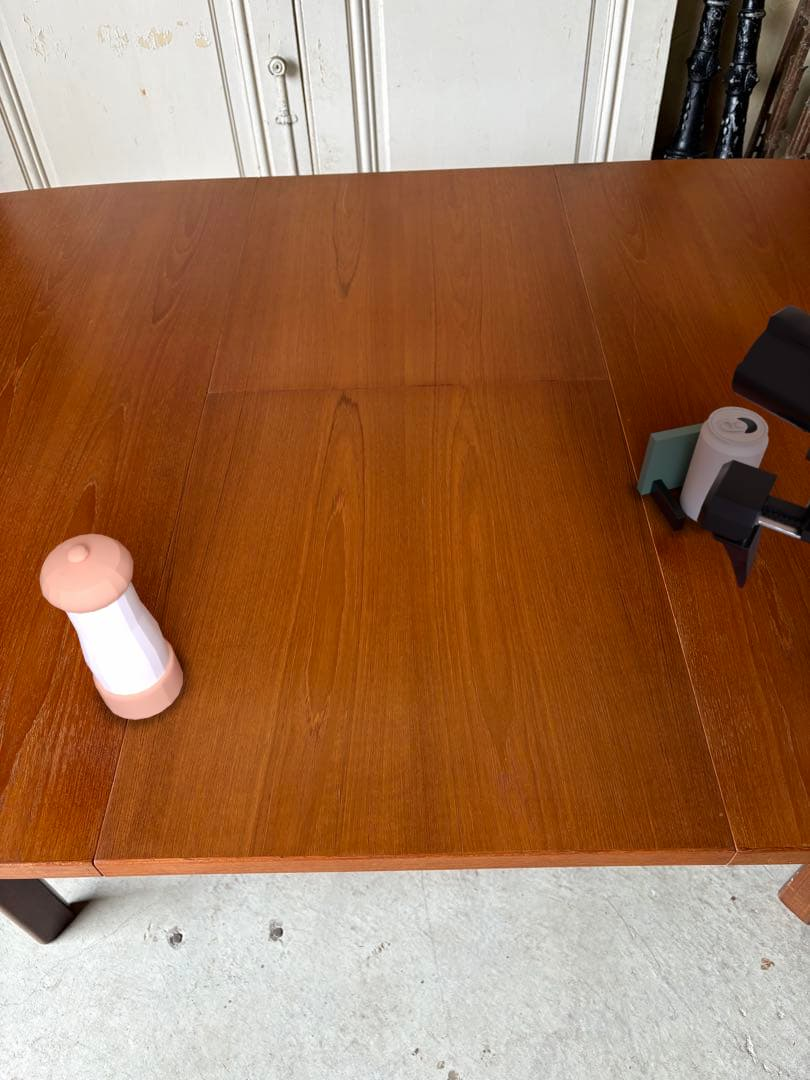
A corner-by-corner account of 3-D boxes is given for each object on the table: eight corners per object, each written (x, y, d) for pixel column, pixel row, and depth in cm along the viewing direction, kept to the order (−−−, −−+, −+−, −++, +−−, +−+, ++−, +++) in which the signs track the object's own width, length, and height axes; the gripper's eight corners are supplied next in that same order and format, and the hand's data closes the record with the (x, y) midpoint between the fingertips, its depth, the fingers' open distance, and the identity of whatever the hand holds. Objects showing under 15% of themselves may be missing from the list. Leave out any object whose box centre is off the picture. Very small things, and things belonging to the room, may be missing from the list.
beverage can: (747, 528, 86) (783, 443, 77) (688, 533, 86) (717, 448, 77) (727, 486, 90) (758, 400, 82) (670, 490, 90) (695, 405, 81)
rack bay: (767, 510, 88) (791, 455, 82) (665, 533, 86) (682, 479, 80) (734, 467, 92) (754, 412, 87) (636, 487, 91) (650, 433, 85)
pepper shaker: (95, 720, 73) (12, 589, 59) (114, 652, 78) (41, 516, 64) (175, 719, 73) (111, 586, 59) (189, 651, 78) (133, 513, 64)
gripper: (1055, 441, 54) (945, 587, 66) (770, 356, 61) (716, 502, 72) (1037, 550, 48) (919, 689, 59) (723, 442, 55) (672, 586, 66)
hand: (799, 607), depth 65 cm, fingers open, 9 cm apart
